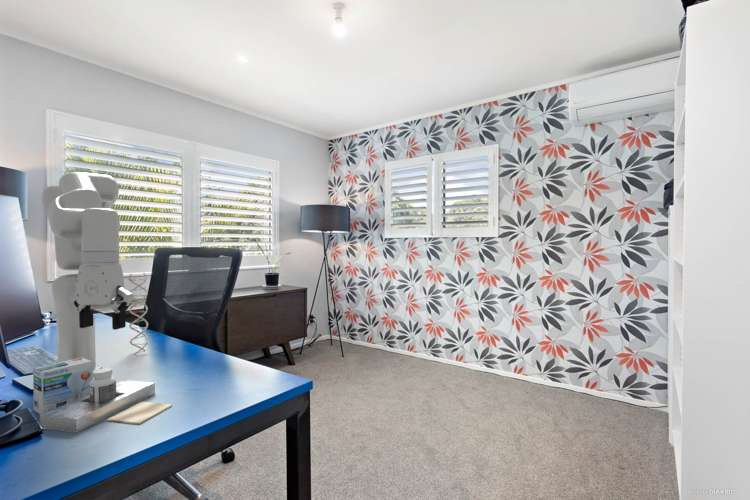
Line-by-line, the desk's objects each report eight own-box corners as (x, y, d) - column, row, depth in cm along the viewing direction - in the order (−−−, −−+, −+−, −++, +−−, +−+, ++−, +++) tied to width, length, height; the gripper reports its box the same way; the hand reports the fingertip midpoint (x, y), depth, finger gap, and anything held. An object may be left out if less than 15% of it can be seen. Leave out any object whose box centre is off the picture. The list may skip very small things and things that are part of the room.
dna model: (139, 350, 148) (137, 272, 147) (153, 351, 146) (151, 272, 146) (124, 355, 141) (122, 274, 141) (139, 356, 140) (137, 274, 139)
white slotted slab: (40, 428, 86) (39, 415, 85) (124, 390, 107) (124, 380, 107) (76, 432, 83) (76, 419, 83) (154, 393, 105) (154, 382, 105)
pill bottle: (120, 403, 98) (119, 366, 98) (110, 412, 93) (109, 372, 93) (96, 405, 97) (95, 367, 97) (85, 415, 92) (84, 374, 92)
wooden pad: (106, 420, 89) (106, 419, 89) (141, 403, 99) (141, 401, 99) (139, 424, 87) (139, 422, 87) (171, 406, 97) (171, 404, 97)
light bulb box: (43, 417, 91) (41, 372, 91) (32, 411, 95) (31, 367, 94) (94, 401, 100) (93, 360, 100) (83, 396, 104) (82, 356, 104)
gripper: (57, 259, 93) (59, 329, 93) (117, 259, 89) (118, 332, 89) (86, 258, 100) (88, 323, 100) (143, 258, 96) (144, 325, 97)
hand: (102, 327), depth 95 cm, fingers open, 9 cm apart
